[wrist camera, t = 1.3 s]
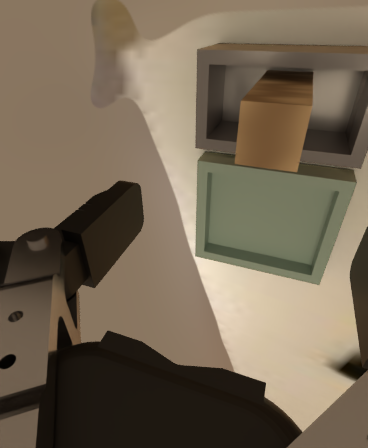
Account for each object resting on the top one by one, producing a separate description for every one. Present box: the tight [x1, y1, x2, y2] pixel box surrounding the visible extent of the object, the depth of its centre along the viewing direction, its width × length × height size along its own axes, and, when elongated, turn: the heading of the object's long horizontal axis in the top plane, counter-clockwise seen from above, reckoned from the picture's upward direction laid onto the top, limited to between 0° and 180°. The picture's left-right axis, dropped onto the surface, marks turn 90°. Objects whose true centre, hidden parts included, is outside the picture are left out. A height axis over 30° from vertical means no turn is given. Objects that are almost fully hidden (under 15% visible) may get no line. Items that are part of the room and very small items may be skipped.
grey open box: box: [196, 43, 368, 169], centre depth 26 cm, size 14×8×7 cm, turn 91°
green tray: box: [195, 151, 357, 285], centre depth 36 cm, size 16×14×3 cm
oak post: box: [235, 70, 313, 172], centre depth 23 cm, size 4×4×13 cm
